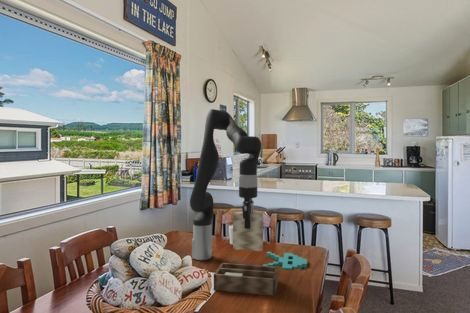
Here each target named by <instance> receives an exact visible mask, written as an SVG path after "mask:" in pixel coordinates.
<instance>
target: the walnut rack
mask: <svg viewBox="0 0 470 313" xmlns="http://www.w3.org/2000/svg"><path fill="white" fill-rule="evenodd" d="M226 272H229V273H242V274H243V276H236V275H224V274H225V273H226ZM278 283H279V266H273V267H272V266H263V265H256V264H243V263H230V262H221V264H219V266H218V268H217V269H216V270H215V272H214V274H213V290H214V291H220V292H221V291H222V292H232V293H233V292H234V293H242V294H243V293H244V294H255V295H267V296H276V294H277V288H278V285H279V284H278Z"/></svg>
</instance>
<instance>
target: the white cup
mask: <svg viewBox="0 0 470 313" xmlns="http://www.w3.org/2000/svg"><path fill="white" fill-rule="evenodd" d="M228 236H229V244H230V245H232V246H233V224H230V225H229V226H228Z"/></svg>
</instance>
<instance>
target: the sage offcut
mask: <svg viewBox="0 0 470 313" xmlns="http://www.w3.org/2000/svg"><path fill="white" fill-rule="evenodd" d="M224 275H236V276H243V274H242V273H229V272H226V273H225V274H224Z"/></svg>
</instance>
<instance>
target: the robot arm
mask: <svg viewBox="0 0 470 313" xmlns="http://www.w3.org/2000/svg"><path fill="white" fill-rule="evenodd" d="M204 125H205V126H204V133H203V141H202V147H201V150H200V154H199V155H200V156H199V160H198V167H197V172H196V177H195V182H194V185H193V187H192V188H193V189H192V192H191V195H190V198H189V206H190V208H191V211H193V212H195V213H197V214H196V215H195V216H194V218H193V219H192V221H193V222H192V223H193V224H192V232H193V234H192V240H191V258H192V259H194V260H197V261H207V260H210V259H212V253H213V252H212V220H213V216H214V198H213V196H212V193H210V192H209V191H207V190H208V186H209V184H210V182H211V180H212V178H214V176H215V174H216V171H217V169H218V165H219V160H220V156H219V150H218V149H217V146H216V143H215V140H214V132H215V130H219V131H220V130H221V131H226V137H227V139H229V141H231V142H232V143H233V145H234V149H235V151H236V152H237V153H238V154H242V155H246V154H247V155H248V154H249V155H248V157H247V158H245V159H242V160H240V161H239V178H238V197H239V198H242V199H243V201H242V207H241V208H242V209H241V210H242V212H243V219H245V229H250V219H251V217H250V214H251V213H252V212H254V200H253V199H255V198H257V197H258V160H259V159H260V158H259V157H260V153H261V151H262V142H261V139H260V138H259V137H258V136H251V135H250V136H249V135H248V133H247V132H246V131H245V130H244V129H243V128H242V127H241V126H239V125H238V124H237V123H236V121H235V120H234V119H233V117H232V115H231V114H230V113H229V112H227V111H225V110H219V109H215V108H214V109H213V108H211V109H209V110H208V111H207V114H206V119H205V124H204ZM246 214H247V215H248V216H246Z"/></svg>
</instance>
